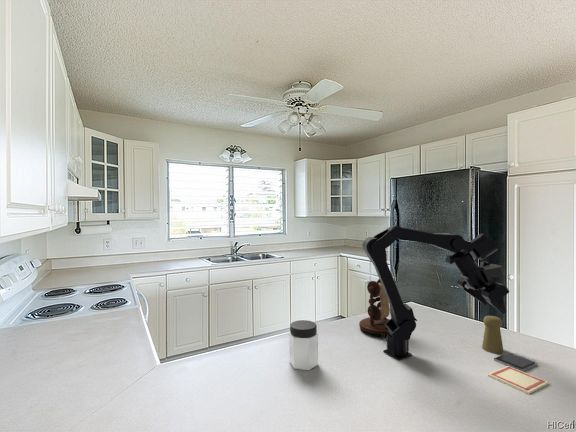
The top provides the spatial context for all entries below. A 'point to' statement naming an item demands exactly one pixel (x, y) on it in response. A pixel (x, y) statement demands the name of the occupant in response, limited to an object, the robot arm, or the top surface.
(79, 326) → the top surface
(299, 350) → the jar
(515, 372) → the print card
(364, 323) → the brown wooden figurine
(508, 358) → the ink pad
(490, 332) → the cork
